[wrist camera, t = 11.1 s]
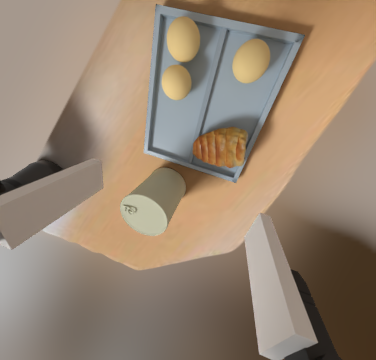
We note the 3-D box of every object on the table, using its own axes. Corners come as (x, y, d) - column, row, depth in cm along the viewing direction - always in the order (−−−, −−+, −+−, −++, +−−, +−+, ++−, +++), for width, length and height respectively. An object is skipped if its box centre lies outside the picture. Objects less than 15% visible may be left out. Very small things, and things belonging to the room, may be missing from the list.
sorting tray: (147, 150, 33) (143, 152, 31) (160, 10, 22) (155, 4, 20) (235, 179, 30) (235, 182, 29) (299, 39, 20) (305, 34, 18)
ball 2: (166, 96, 26) (154, 95, 22) (170, 65, 24) (158, 57, 20) (190, 103, 26) (183, 103, 22) (197, 71, 23) (190, 65, 19)
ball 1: (171, 61, 24) (159, 53, 20) (176, 22, 21) (164, 4, 17) (198, 68, 23) (191, 61, 19) (206, 29, 21) (200, 12, 17)
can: (154, 160, 33) (120, 186, 23) (191, 177, 33) (173, 211, 23) (146, 191, 38) (115, 224, 28) (178, 206, 38) (159, 245, 27)
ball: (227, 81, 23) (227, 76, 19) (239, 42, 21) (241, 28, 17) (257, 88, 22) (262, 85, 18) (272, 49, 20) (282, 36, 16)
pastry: (195, 163, 30) (190, 170, 26) (193, 128, 27) (187, 130, 24) (245, 164, 27) (246, 172, 24) (248, 125, 24) (250, 127, 21)
